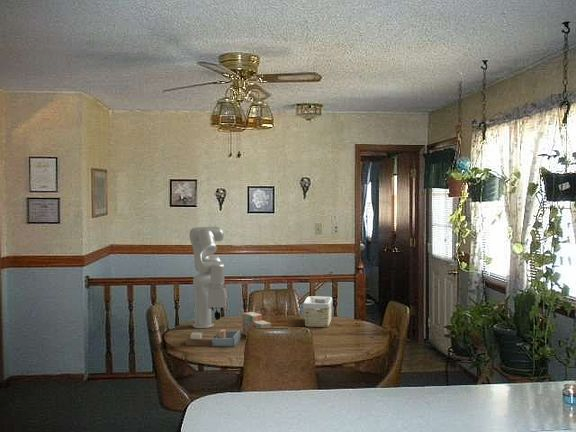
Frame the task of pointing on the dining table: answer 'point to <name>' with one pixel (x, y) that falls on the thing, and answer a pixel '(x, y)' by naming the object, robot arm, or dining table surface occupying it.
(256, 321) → the stack of blocks
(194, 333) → the cream tile
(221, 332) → the peach block
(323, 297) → the storage basket
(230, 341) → the tray
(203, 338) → the walnut board
